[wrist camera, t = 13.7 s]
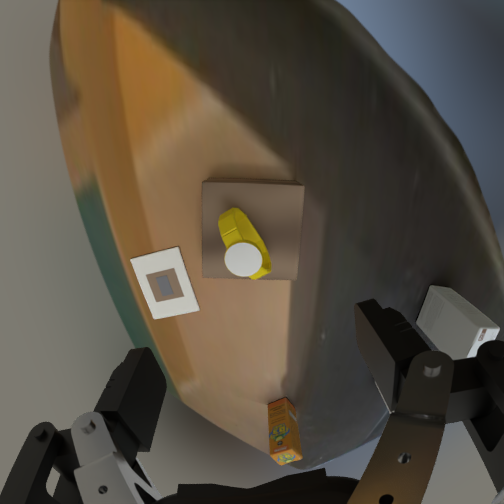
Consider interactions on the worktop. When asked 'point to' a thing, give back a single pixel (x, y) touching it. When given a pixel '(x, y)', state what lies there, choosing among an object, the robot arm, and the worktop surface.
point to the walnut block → (254, 222)
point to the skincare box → (454, 323)
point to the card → (165, 283)
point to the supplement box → (283, 432)
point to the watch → (243, 246)
